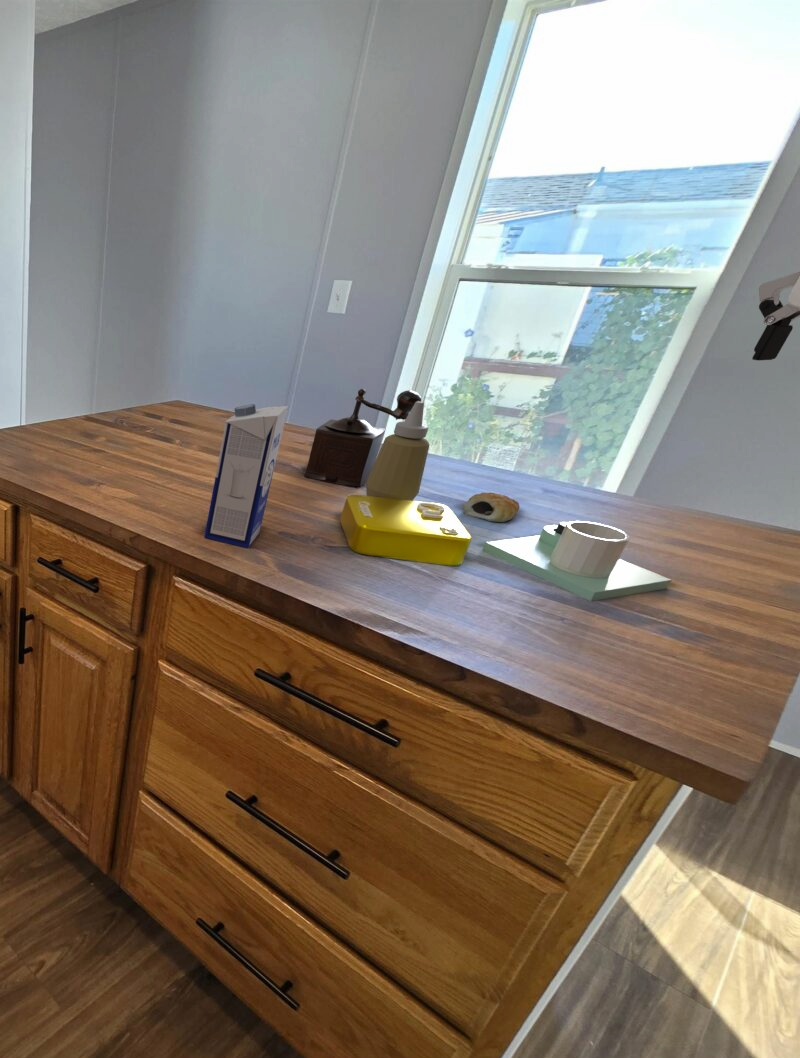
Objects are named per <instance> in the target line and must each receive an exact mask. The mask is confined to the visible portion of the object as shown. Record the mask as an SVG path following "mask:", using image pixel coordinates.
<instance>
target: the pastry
mask: <svg viewBox="0 0 800 1058" xmlns="http://www.w3.org/2000/svg"><path fill="white" fill-rule="evenodd" d="M461 508H462V510H463V514H464V515H466V516H470V517H472V518H475V519H482V520H485V521H487V522H495V523H505V522H507V521H511V520H512V519H513V518H514V517H515V516H516V514H517V513H518V512H519V510H520V503H519V502H518V500H515V499H514V498H510V496H508V495H505V494H501V493H496V492H491V491H490V492H480V493H476V494H474V495H472V496H471V497H469V498H468V500H467V502H465V503H464V504H462V506H461Z"/></svg>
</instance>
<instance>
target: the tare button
mask: <svg viewBox="0 0 800 1058" xmlns="http://www.w3.org/2000/svg"><path fill="white" fill-rule="evenodd" d="M569 522H570V521H560V522H559V523H558V527H557V529H556V531H555V532H556V533H558V534H562V532H563V530H564V528H565V526H566V524H567V523H569Z"/></svg>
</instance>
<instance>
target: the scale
mask: <svg viewBox="0 0 800 1058" xmlns="http://www.w3.org/2000/svg"><path fill="white" fill-rule="evenodd" d="M558 525H559V524H558ZM558 525H557V524H550V525H545V526H544V527H543V528H542V531H541V533H540V534H537V535H531V536H523V537H515V538H508V539H500V540H491V541H485V543H484V544H483V547H482V549H481V550H482V551H483V552H485V553H487V554H489V555H492V556H493V557H496V558H498V559H500V560H502V561H504V562H507V563H509V564H511V565H512V566H514V567H517V568H519V569H521V570H523V571H525V572H528V573H530V574H532V575H535V576H536V577H539V578H541V579H542V580H545V581H547V582H549V583H551V584H553V585H555V586H558V587H559V588H562V589H564V590H566V591H568V592H570V593H572V594H574V595H576V596H579V597H581V598H583V599H584V600H587V601H589V602H594V601H598V600H599V601H600V600H606V599H612V598H618V597H624V596H625V597H626V596H630V595H635V594H642V593H648V592H654V591H660V590H667V589H668V588H669V586H670V584H671V582H672V581H673V580H672V579H670V578H669V577H666V576H663V575H661V574H658V573H656V572H653V571H651V570H648V569H647V568H646V569H645V568H643V567H641V566H638V565H636V564H633V563H632V562H631V563H630V562H628V561H626V560H624V559H621V558H619V560H618V562H617V564H616V566H615V568H614V569H613V571H612V572H611V574H610V576H608V577H606V578H589V577H583V576H579V575H575V574H571V573H568V572H566V571H563V570H561V569H559V568H557V567H555V566H554V565H552V564H551V562H550V558H551V555H552V553H553V551H554V549H555V547H556V545H557V542H558V540H559V538H560V536H561V534H558V533H556V532H555V531H556V529H557V527H558Z"/></svg>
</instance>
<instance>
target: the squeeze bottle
mask: <svg viewBox="0 0 800 1058" xmlns="http://www.w3.org/2000/svg"><path fill="white" fill-rule="evenodd" d="M424 408H425V401H421V402H419V401H417V402H415V404H414V406H413V408H412V409H411V411H410V412H409V414H408V416H407V418H406V419H405V420H403V421H397V422H396V424H395V427H394V429H393V433H392V434H390V435H388V436H385V438H384V439H383V441H382V442H383V443H382V445H381V446H380V448H379V451H378V454H377V458H376V461H375V463H374V466H373V468H372V470H371V473H370V475H369V477H368V480H367V482H366V483H365V488H366V490H365V491H366V496H373V497H382V498H391V499H400V500H409V501H414V500H415V499H416V497H417V496H418V495H419V493H420V488H421V485H422V480H423V476H424V471H425V467H426V463H427V458H428V453H429V450H430V442H429V441H428V440H427V439H426V437H427V434H428V431H429V426H428V425H427V424H424V423H423V422H424V421H423V420H424V410H425V409H424Z"/></svg>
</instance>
